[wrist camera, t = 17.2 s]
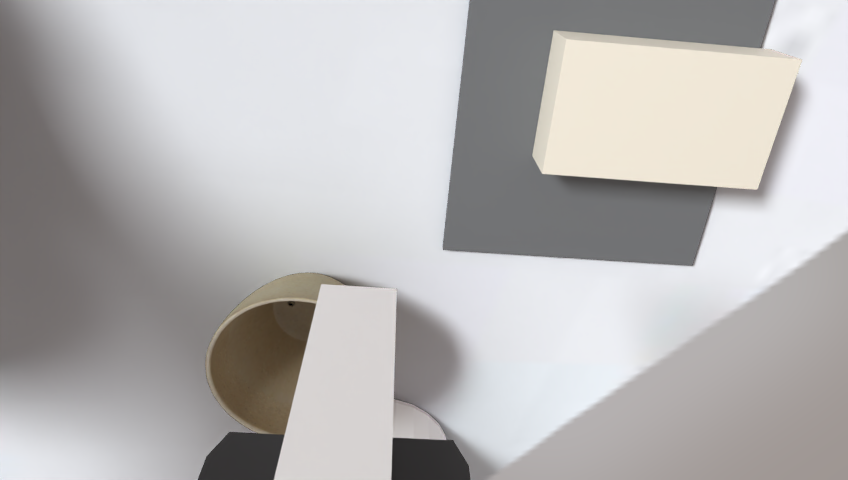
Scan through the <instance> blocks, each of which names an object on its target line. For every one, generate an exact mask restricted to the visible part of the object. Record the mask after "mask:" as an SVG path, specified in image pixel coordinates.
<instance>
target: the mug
mask: <svg viewBox="0 0 848 480" xmlns="http://www.w3.org/2000/svg"><path fill="white" fill-rule="evenodd" d="M393 438H413V439H435V440H446V436H445V434H444V432H443V430H442V428H441V427H440V425H439V423H438V422H436V421H435V420H434V419H433V418H432V417H431V416H430V415H429V414H428V413H427V412H425V411H423V410H421V409H420V408H418V407H416V406H414V405H413V404H410V403H406V402H403V401H399V400H396V399H394V405H393Z"/></svg>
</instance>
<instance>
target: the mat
mask: <svg viewBox="0 0 848 480" xmlns="http://www.w3.org/2000/svg"><path fill="white" fill-rule="evenodd" d="M774 3H775V0H470V2H469V11H468V20H467V29H466V39H465V48H464V57H463V66H462V75H461V84H460V94H459V103H458V112H457V121H456V130H455V139H454V149H453V158H452V167H451V176H450V185H449V194H448V203H447V213H446V222H445V231H444V240H443V250H456V251H471V252H487V253H503V254H518V255H534V256H550V257H565V258H581V259H597V260H613V261H628V262H644V263H660V264H675V265H691V266H692V265H693V262H694V259H695V256H696V252H697V249H698V246H699V243H700V240H701V236H702V233H703V230H704V227H705V224H706V220H707V217H708V214H709V211H710V208H711V204H712V201H713V198H714V195H715V192H716V188H717V187H713V186H700V185H686V184H673V183H659V182H646V181H632V180H618V179H605V178H591V177H578V176H564V175H551V174H542V173H541V171H540V169H539V167H538V165H537V164H536V162H535V160H534V158H533V156H532V154H533V148H534V142H535V136H536V131H537V125H538V119H539V113H540V107H541V101H542V95H543V90H544V84H545V78H546V72H547V66H548V60H549V54H550V49H551V43H552V37H553V31H554V30H556V31H568V32H579V33H591V34H602V35H613V36H625V37H636V38H648V39H659V40H670V41H682V42H693V43H705V44H716V45H727V46H739V47H750V48H761V45H762V41H763V38H764V35H765V32H766V29H767V25H768V22H769V19H770V16H771V13H772V9H773V6H774Z"/></svg>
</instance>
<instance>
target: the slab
mask: <svg viewBox="0 0 848 480" xmlns="http://www.w3.org/2000/svg"><path fill="white" fill-rule="evenodd" d="M801 62H802V59H799V58H796V57H793V56H790V55H787V54H784V53H781V52H778V51H775V50H772V49H762V48H750V47H739V46H727V45H716V44H705V43H693V42H682V41H670V40H659V39H648V38H636V37H625V36H613V35H602V34H591V33H579V32H568V31H556V30H554V31H553V37H552V43H551V49H550V54H549V60H548V66H547V72H546V78H545V84H544V90H543V95H542V101H541V107H540V113H539V119H538V125H537V131H536V136H535V142H534V148H533V154H532V156H533V158H534V160H535V162H536V164H537V165H538V167H539V169H540V171H541V173H542V174H551V175H564V176H578V177H591V178H605V179H618V180H632V181H646V182H659V183H673V184H686V185H700V186H713V187H727V188H741V189H754V190H757V189H758V186H759V183H760V181H761V178H762V175H763V172H764V169H765V166H766V163H767V160H768V157H769V155H770V152H771V149H772V146H773V143H774V140H775V137H776V134H777V131H778V129H779V126H780V123H781V120H782V117H783V114H784V111H785V108H786V105H787V103H788V100H789V97H790V94H791V91H792V88H793V85H794V82H795V80H796V77H797V74H798V71H799V68H800V65H801Z"/></svg>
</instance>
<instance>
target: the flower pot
mask: <svg viewBox="0 0 848 480" xmlns="http://www.w3.org/2000/svg"><path fill="white" fill-rule="evenodd" d="M321 284H327V285H343V284H342V283H341V282H339V281H337V280H335V279H333V278H331V277H329V276H326V275H323V274H317V273H297V274H292V275H288V276H285V277H281V278H279V279H276V280H274V281H272V282H270V283H268V284H266V285H264V286H262V287H261V288H259V289H258V290H256V291H255V292H253V293H252V294H251V295H249V296H248V297H247V298H246V299H244V300H243V301H242V302H241V303H240V304H239V305H238V306H237V307H236V308H235V309H234V310H233V311H232V312H231V313H230V314H229V315H228V316H227V317H226V319H225V320H224V321H223V322H222V324H221V325H220V327H219V328H218V329H217V331H216V333H215V334H214V336H213V338H212V340H211V342H210V344H209V347H208V350H207V354H206V360H205V368H206V377H207V381H208V384H209V387H210V389H211V391H212V393H213V395H214V397H215V398H216V400H217V401H218V403H219V404H220V406H221V407H222V408H223V409H224V410H225V411H226V412H227V413H228V414H229V415H230V416H231V417H232V418H233V419H235V420H236V421H238V422H239V423H240V424H242V425H243V426H245V427H246V428H248V429H250V430H252V431H254V432H257V433H260V434H282V435H285V432H286V428H287V423H288V419H289V415H290V411H291V407H292V403H293V399H294V394H295V390H296V386H297V382H298V378H299V374H300V370H301V366H302V361H303V357H304V353H305V349H306V345H307V341H308V337H309V332H310V328H311V324H312V320H313V316H314V312H315V308H316V304H317V299H318V295H319V291H320V287H321ZM343 286H345V285H343ZM289 303H291V304H293V306H291V305H289Z"/></svg>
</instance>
